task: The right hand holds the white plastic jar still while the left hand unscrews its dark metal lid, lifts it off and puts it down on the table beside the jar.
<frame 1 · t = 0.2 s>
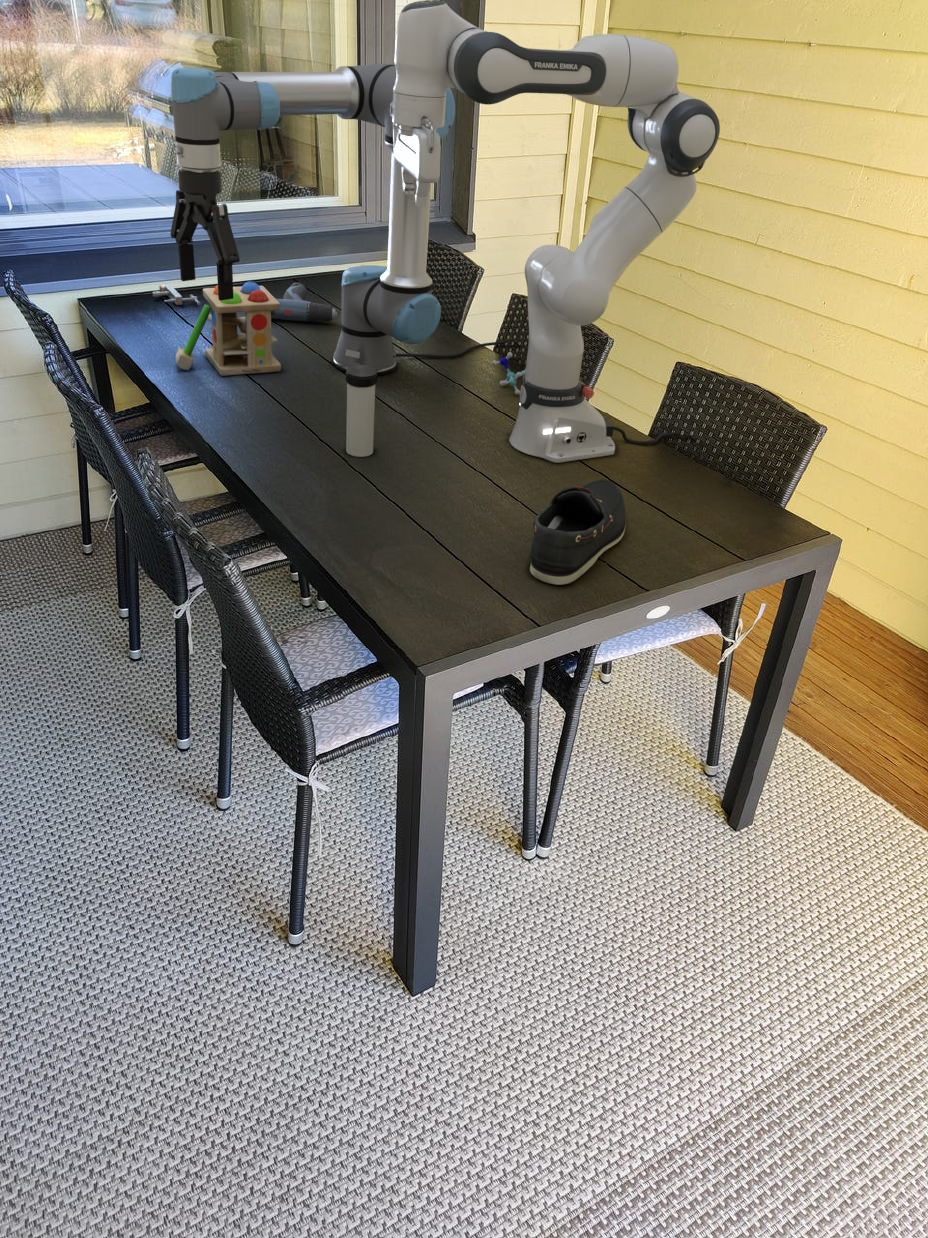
left hand: (206, 289, 186), 28 cm above the table, tool pointing down, fingers open, 13 cm apart
right hand: (414, 199, 173), 48 cm above the table, tool pointing down, fingers open, 8 cm apart
pounding bench toy: (225, 365, 230), on the table
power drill: (305, 313, 267), on the table
lid: (361, 372, 189), point 16 cm above the table, screwed on, not yet turned
boat shoe: (576, 542, 174), on the table
jar: (359, 450, 198), on the table
molecular model: (512, 388, 234), on the table
clamp: (175, 301, 266), on the table
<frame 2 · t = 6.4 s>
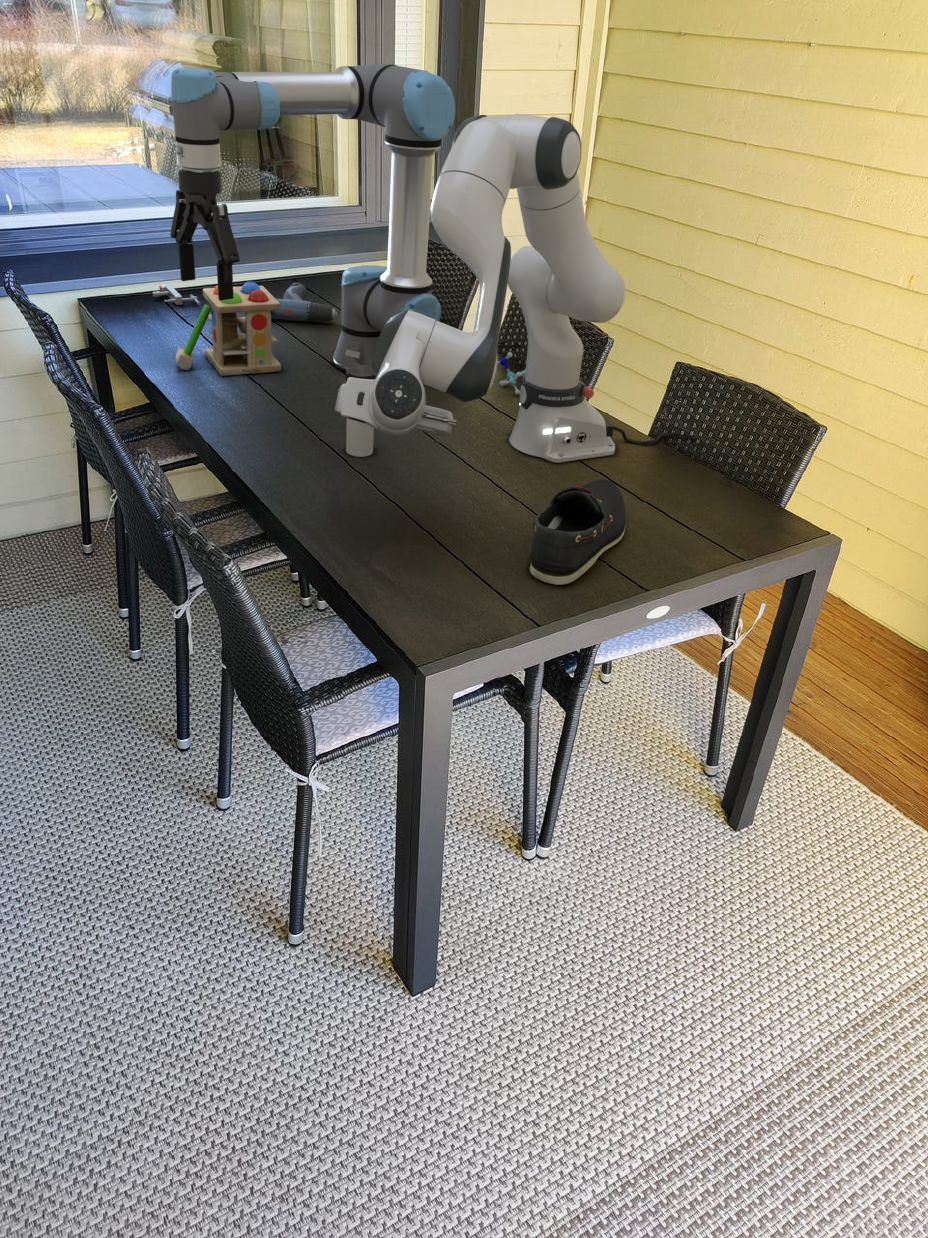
left hand: (206, 289, 186), 28 cm above the table, tool pointing down, fingers open, 13 cm apart
right hand: (393, 417, 173), 16 cm above the table, tool tilted 60°, fingers open, 8 cm apart
nothing on the table moved.
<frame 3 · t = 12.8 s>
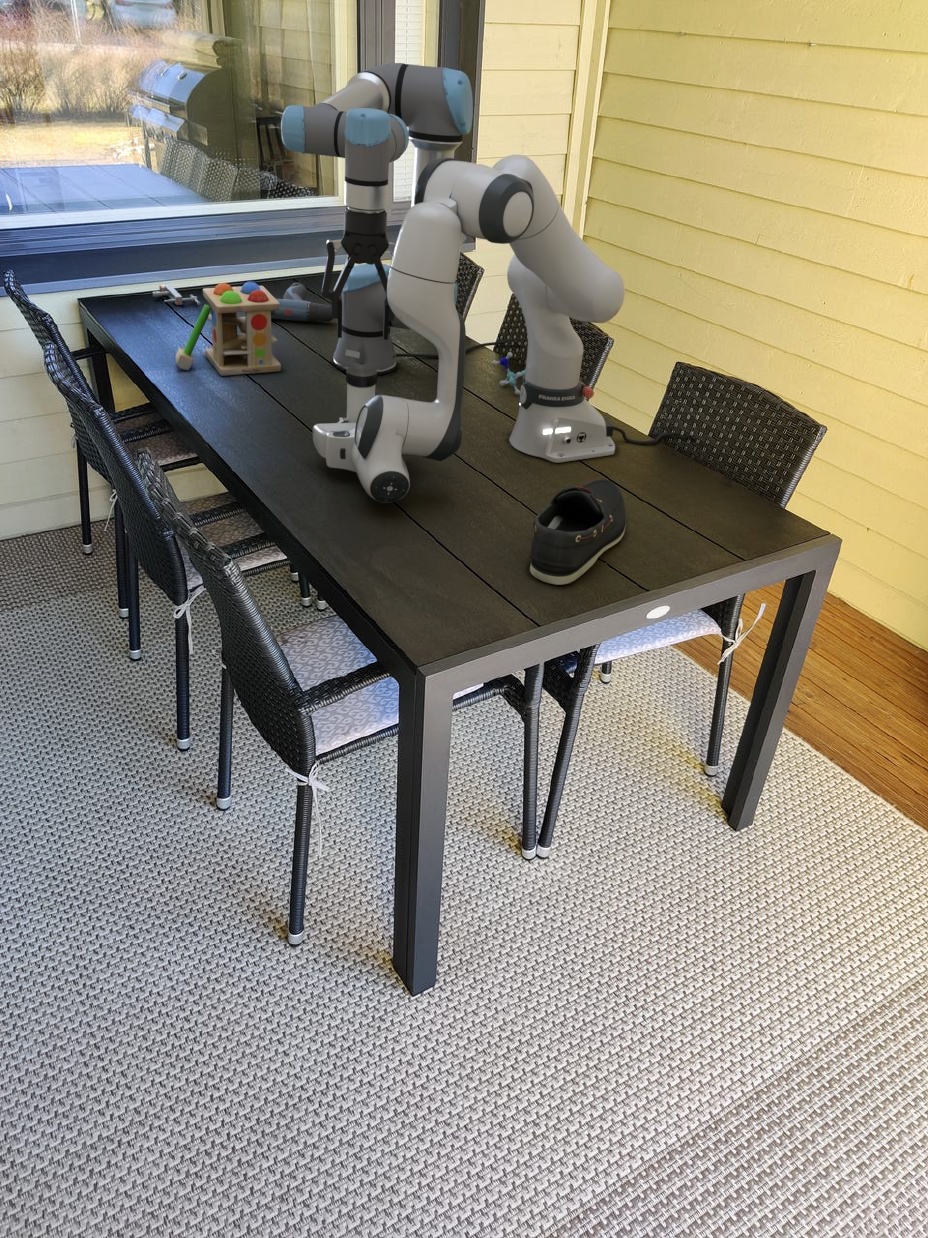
left hand: (362, 336, 185), 24 cm above the table, tool pointing down, fingers open, 8 cm apart
right hand: (359, 420, 195), 6 cm above the table, tool horizontal, fingers closed on jar, 5 cm apart
jar: (359, 450, 198), on the table, touching right hand
everything else where it was.
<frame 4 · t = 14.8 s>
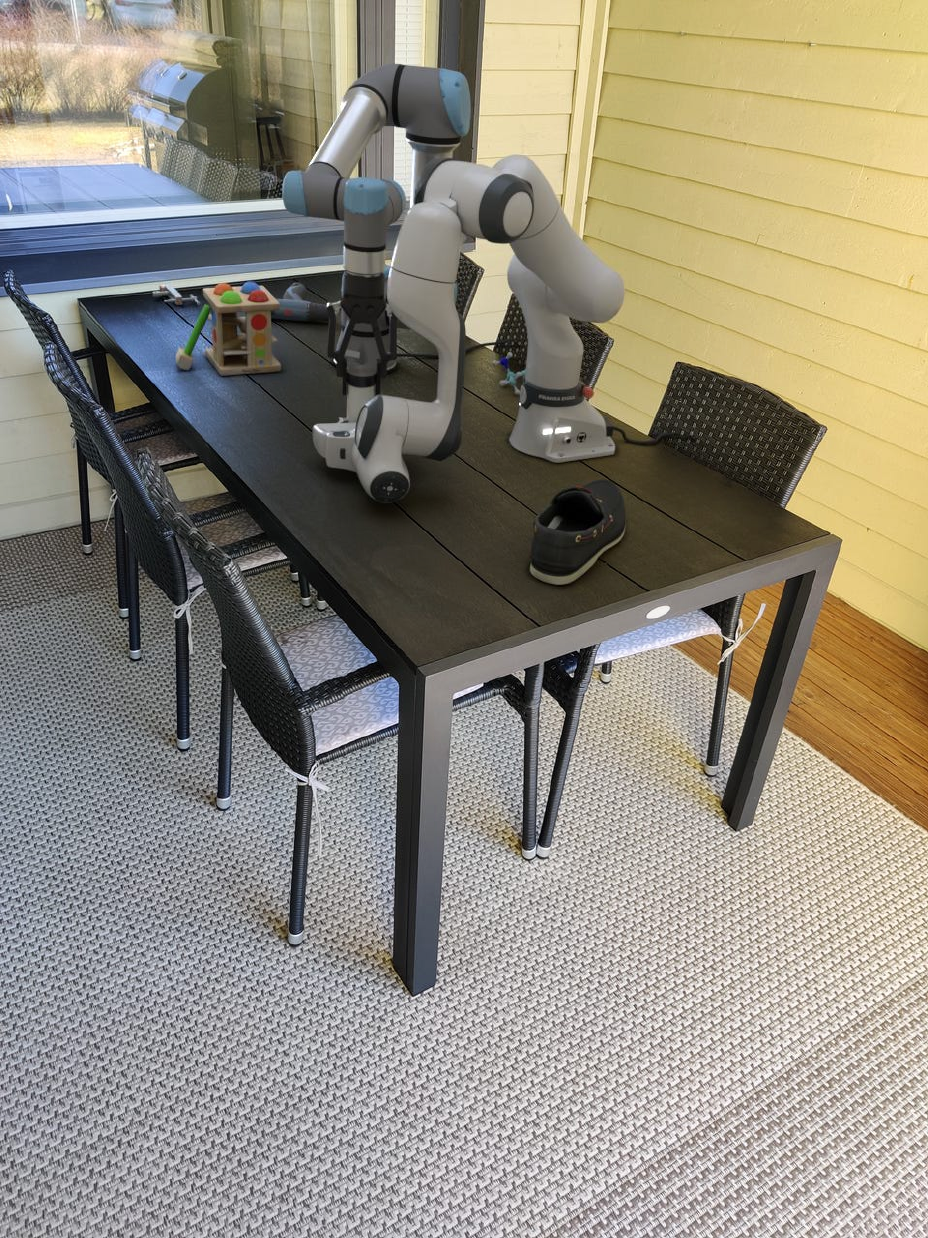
left hand: (361, 392, 191), 12 cm above the table, tool pointing down, fingers closed on lid, 6 cm apart
right hand: (359, 420, 195), 6 cm above the table, tool horizontal, fingers closed on jar, 5 cm apart
lid: (361, 372, 189), point 16 cm above the table, screwed on, not yet turned, touching left hand
jar: (359, 451, 198), on the table, touching right hand
everything else where it was.
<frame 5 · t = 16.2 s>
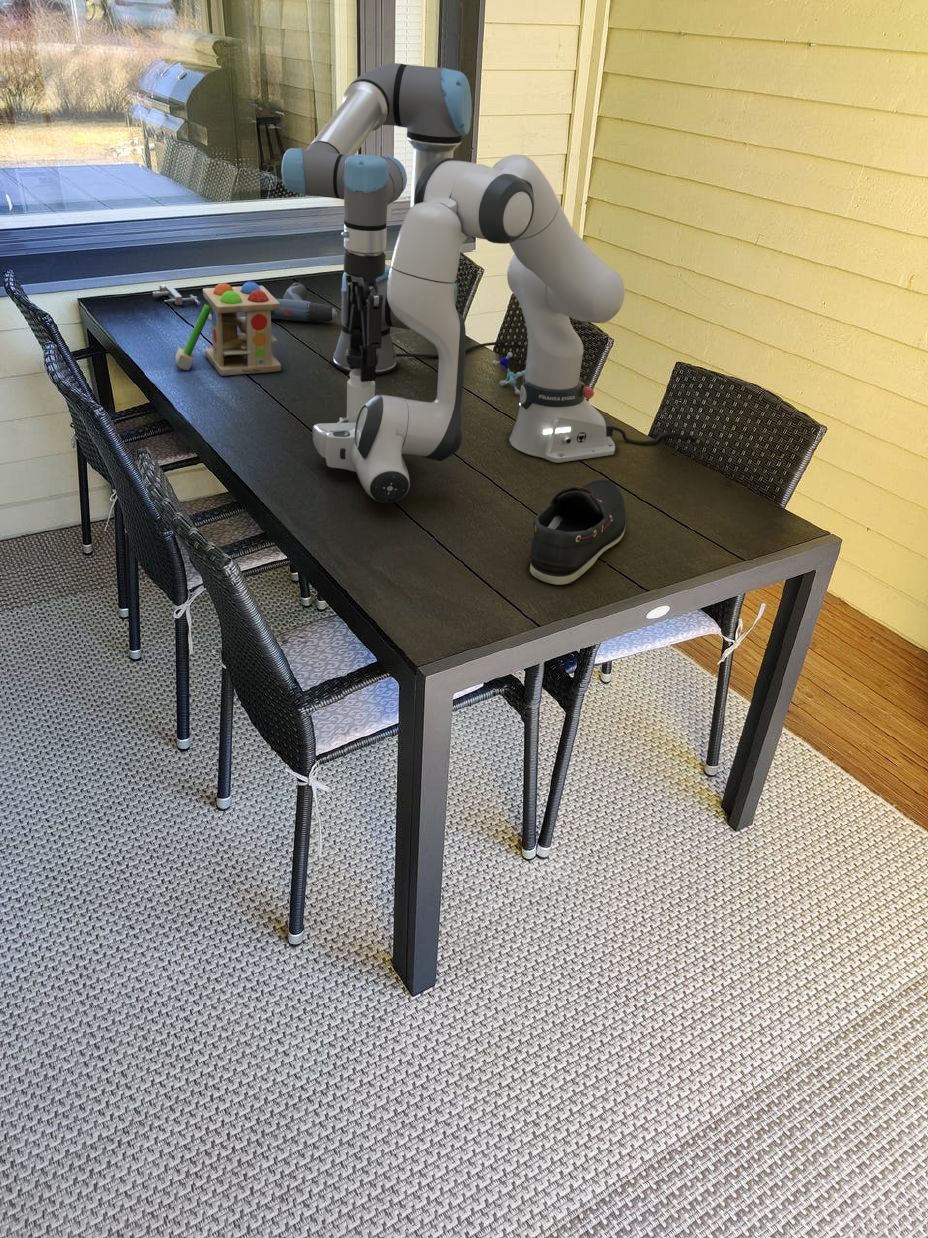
left hand: (362, 373, 189), 16 cm above the table, tool pointing down, fingers closed on lid, 6 cm apart
right hand: (359, 420, 195), 6 cm above the table, tool horizontal, fingers closed on jar, 5 cm apart
lid: (362, 353, 187), point 20 cm above the table, off its thread, touching left hand
jar: (359, 450, 198), on the table, touching right hand
everything else where it was.
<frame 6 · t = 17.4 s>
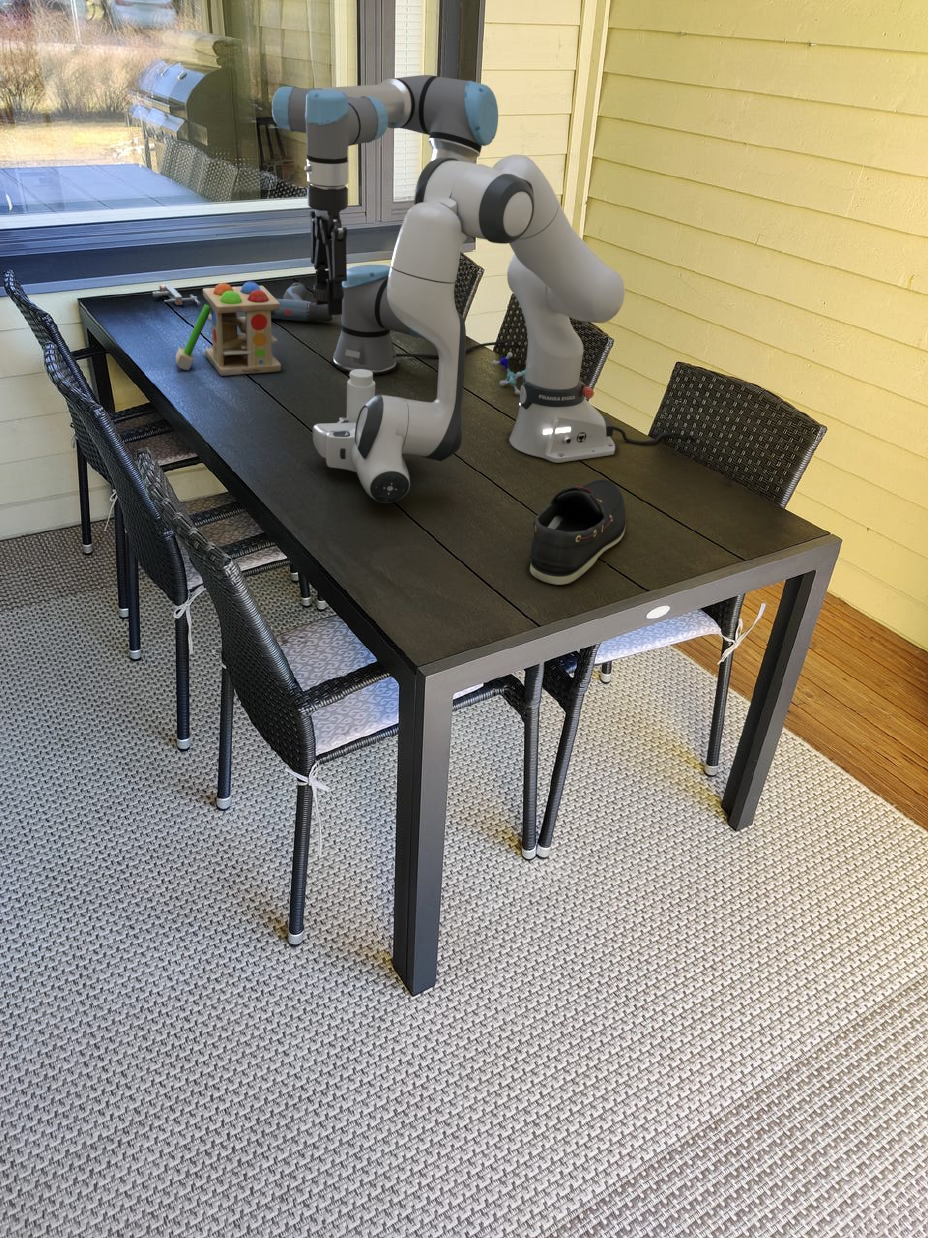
left hand: (328, 308, 195), 24 cm above the table, tool pointing down, fingers closed on lid, 6 cm apart
right hand: (359, 420, 195), 6 cm above the table, tool horizontal, fingers closed on jar, 5 cm apart
lid: (328, 288, 193), point 28 cm above the table, off its thread, touching left hand
jar: (359, 451, 198), on the table, touching right hand
everything else where it was.
when the left hand's fingers open (0 cm above the table, at t = 21.5 s): lid drops 2 cm, point 2 cm above the table.
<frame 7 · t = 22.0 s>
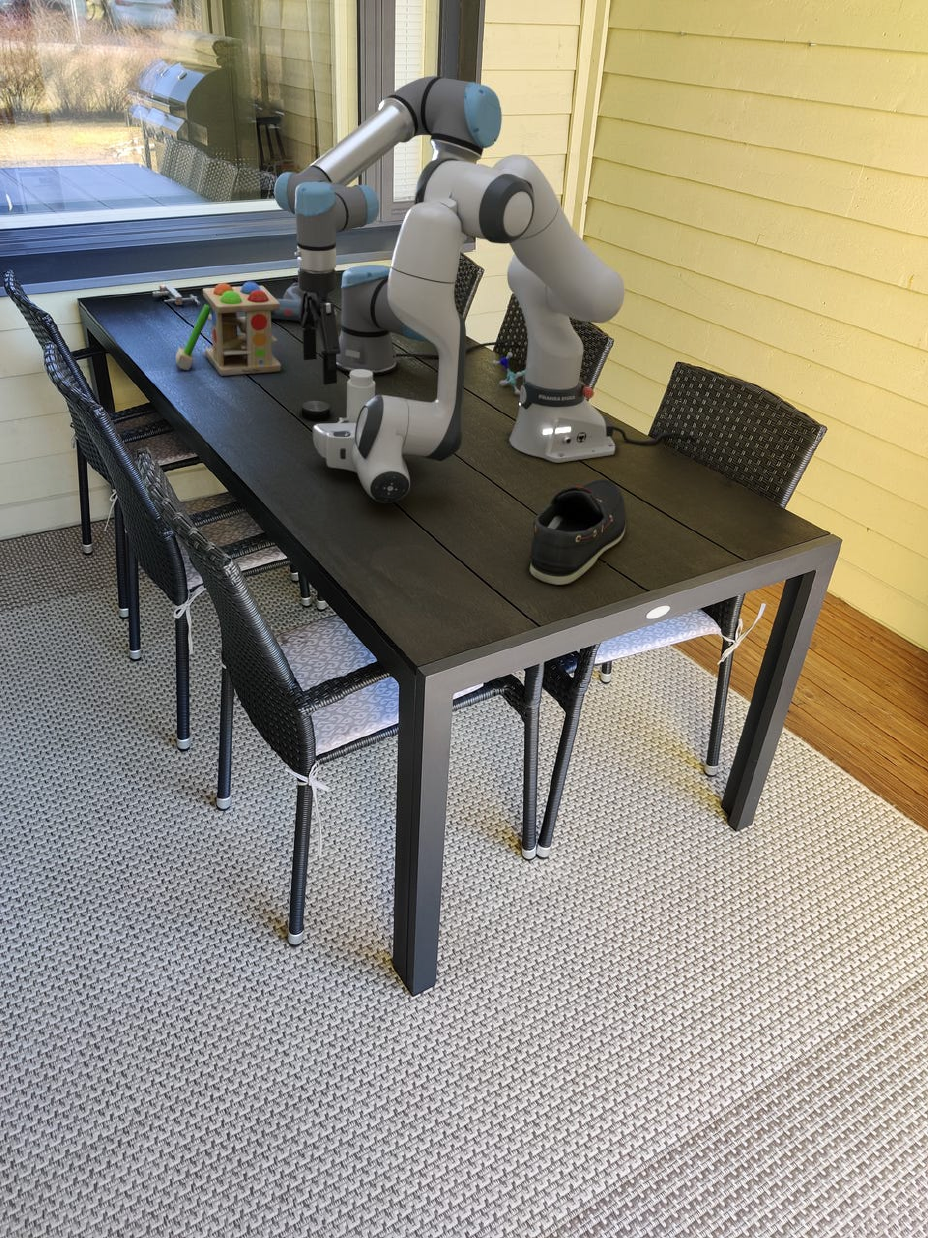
left hand: (319, 371, 206), 10 cm above the table, tool pointing down, fingers open, 13 cm apart
right hand: (359, 420, 195), 6 cm above the table, tool horizontal, fingers closed on jar, 5 cm apart
lid: (315, 407, 210), point 2 cm above the table, off its thread
jar: (359, 451, 198), on the table, touching right hand
everything else where it was.
when the right hand's fingers open (6 cm above the table, at t = 22.2 s): jar stays where it is, on the table.
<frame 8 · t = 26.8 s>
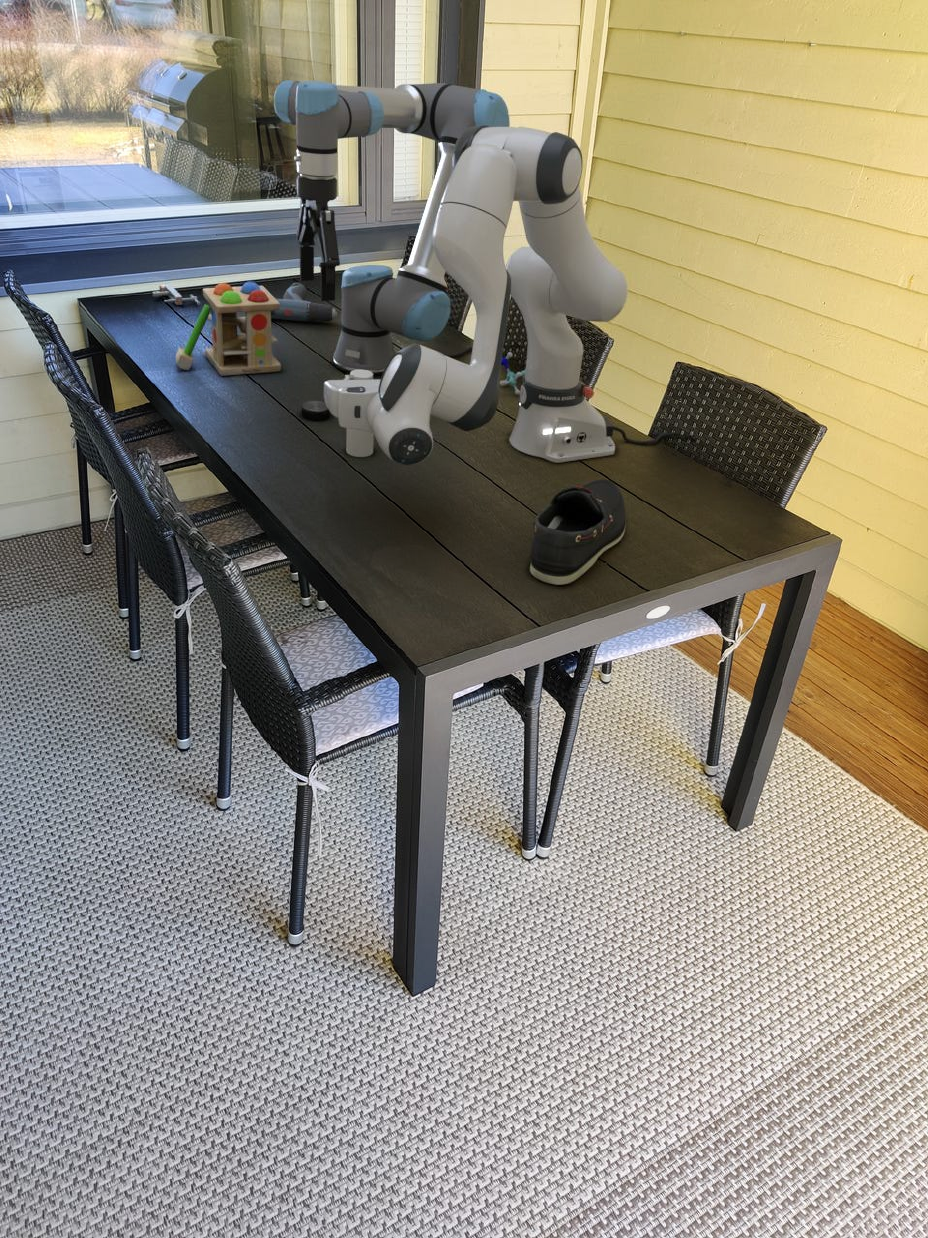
left hand: (317, 289, 196), 27 cm above the table, tool pointing down, fingers open, 13 cm apart
right hand: (374, 378, 177), 20 cm above the table, tool horizontal, fingers open, 8 cm apart
jar: (359, 451, 198), on the table
everything else where it was.
at the end: lid came off its thread; lid point 1.8 cm above the table; the left hand is holding nothing; the right hand is holding nothing; jar tilted 0°; jar moved 0.1 cm from its start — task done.
